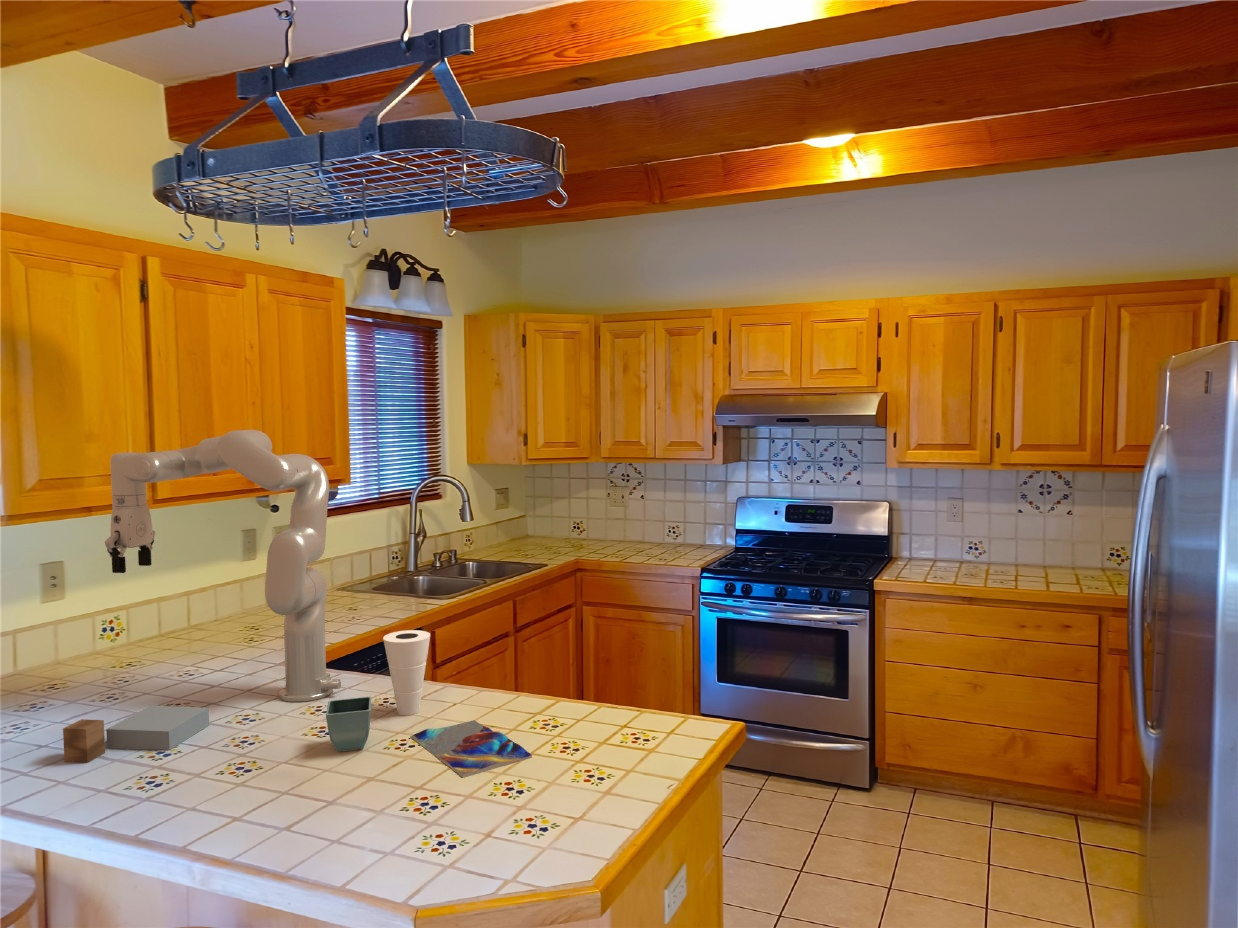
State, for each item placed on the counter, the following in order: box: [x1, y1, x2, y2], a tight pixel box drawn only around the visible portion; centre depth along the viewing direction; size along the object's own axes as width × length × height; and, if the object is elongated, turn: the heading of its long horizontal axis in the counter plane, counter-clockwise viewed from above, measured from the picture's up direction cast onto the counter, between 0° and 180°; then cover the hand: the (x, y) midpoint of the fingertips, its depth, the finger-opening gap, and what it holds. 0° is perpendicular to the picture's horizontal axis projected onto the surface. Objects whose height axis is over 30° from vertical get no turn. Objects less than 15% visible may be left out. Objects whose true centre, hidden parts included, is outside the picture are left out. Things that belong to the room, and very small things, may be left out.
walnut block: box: [62, 718, 106, 764], centre depth 170 cm, size 5×5×7 cm
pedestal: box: [105, 705, 210, 751], centre depth 182 cm, size 14×14×4 cm
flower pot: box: [325, 696, 372, 752], centre depth 175 cm, size 9×9×9 cm
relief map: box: [409, 719, 533, 779], centre depth 175 cm, size 25×15×2 cm, turn 37°
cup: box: [382, 629, 431, 716], centre depth 195 cm, size 11×11×18 cm
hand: (132, 569), depth 211 cm, fingers open, 9 cm apart
